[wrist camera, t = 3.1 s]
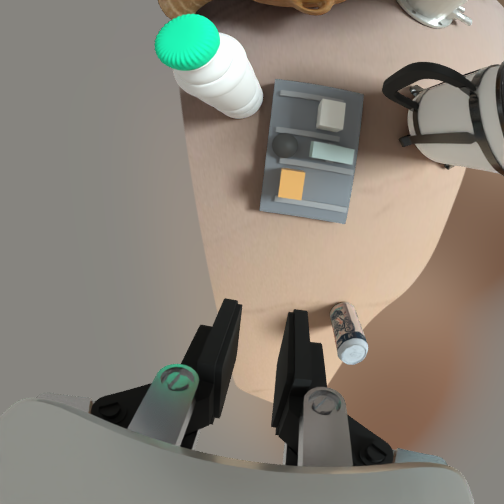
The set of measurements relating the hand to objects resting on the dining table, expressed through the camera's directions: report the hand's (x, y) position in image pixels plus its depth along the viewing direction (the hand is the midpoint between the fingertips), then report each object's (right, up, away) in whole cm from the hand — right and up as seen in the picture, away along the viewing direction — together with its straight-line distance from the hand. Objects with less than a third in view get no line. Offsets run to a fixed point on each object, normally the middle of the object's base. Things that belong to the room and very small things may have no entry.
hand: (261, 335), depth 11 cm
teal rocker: (+10, +17, +23) cm, 31 cm away
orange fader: (+5, +14, +27) cm, 31 cm away
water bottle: (-2, +27, +26) cm, 38 cm away
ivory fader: (+10, +22, +23) cm, 34 cm away
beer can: (+16, -7, +36) cm, 40 cm away
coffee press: (+28, +24, +23) cm, 43 cm away
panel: (+9, +19, +28) cm, 34 cm away
